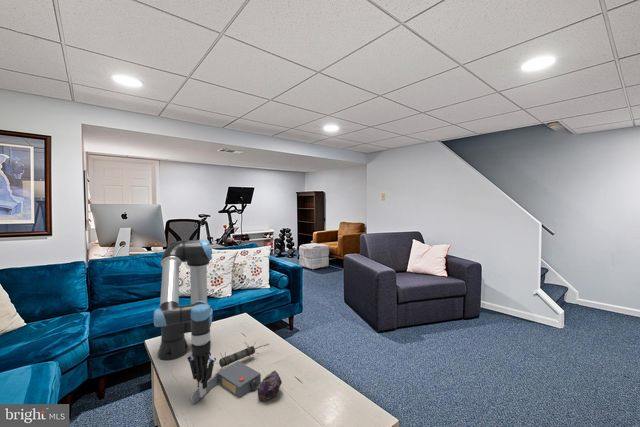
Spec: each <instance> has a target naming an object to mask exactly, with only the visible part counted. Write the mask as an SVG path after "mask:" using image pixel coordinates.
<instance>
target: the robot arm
mask: <svg viewBox="0 0 640 427" xmlns="http://www.w3.org/2000/svg"><path fill="white" fill-rule="evenodd" d="M211 260H213V255H212V248H211V244H210V240H208V239H194V240H193V239H192V240H191V239H190V240H178V241H175V242H173V243H171V244H170V245H169V246H168V247H167V248H166V249H165V250H164V251H163V253H162V255H161V259H160V265H161V267H162V272H161V288H160V298H159V300H160V301H159V302H160V303H159V308H157V309H154V310H153V325H154V327H156V328H160V330H161V331H160V332H161V336H160V341H161V342H160V345H159V349H158V351H157V356H158V357H159V358H160V359H159V358H158V359H159V360H162V361H172V360H176V359H178V358H181V357H183V356H185V354H187V353H188V351H189V345H188V341H187V340H186V337H185V334H188V333H191V335H190V336H191V337H190V338H191V339H190V340H191V353H192V354H190V355H189V356H188V357H187V361H188V363H189V366H190V371H191V375H192V379H193V380H196V382H197V388H198V389H199V397H202V398H203V397H204V396H205V395H206V394H207V393H206V387H207V381H208V380H209V379H211V378H212V377H213V370H214V364H215V362H216V360H217V358H216V357H213V356H212V354H211V348H212V345H211V344H212V342H211V326H212V323H213V308H212V307H211V306H210V304H208V279H207V276H208V275H207V274H208V271H207V270H208V269H207V266H208V265H209V264H210V261H211ZM182 263H186V265H187V266H188V267H189V270H190V271H189V276H190V278H189V279H190V280H189V281H190V304H185V305H179V300H180V299H179V298H180V296H179V295H180V294H179V293H180V291H179V290H180V266H181V265H182Z"/></svg>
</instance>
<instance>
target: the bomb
mask: <svg viewBox="0 0 640 427" xmlns="http://www.w3.org/2000/svg"><path fill="white" fill-rule="evenodd" d="M244 343H245V345H246V348H245V349H242V350H239V351H237V352H235V353H233V354H229V355H226V353H224V356H223V354H222V353H220V355H221V358H220V359H219V362H217V363H215V364H219V367H221V369H220V370H223V368H224V367H226V366H227V367H228V366H230V365H232V364H234V363H236V362H237V361H240V360H242V359H244V358H248V357H249V359H251V356H253V355H254V354H258V355H259V354H260V353H258V352H256V349H259V348H262V347H265V346H269V345H270V343H266V344H264V345H260V346H258V347H255V345H256V343H254V344H253V345H251V346H250V345H249V344H247V343H246V341H245V342H244ZM249 362H250V363H251V361H249Z"/></svg>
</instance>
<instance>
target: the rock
mask: <svg viewBox="0 0 640 427" xmlns="http://www.w3.org/2000/svg"><path fill="white" fill-rule="evenodd" d="M282 384H283V382H282V379H281V376H280V375H279V373H278V372H277V370H271V371H270V373H269V374H267V375H266V376H265V377H264V378H263V379H262V380H261V383H260V385H258V386H257V388H256V389H257V398H258V399H259V400H260V401H261V402H265V401H268V400H269V399H273V398H275V397H276V396H277V394H278V392H279V391H280V387H281V385H282Z"/></svg>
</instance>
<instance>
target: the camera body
mask: <svg viewBox="0 0 640 427" xmlns="http://www.w3.org/2000/svg"><path fill="white" fill-rule="evenodd" d="M216 373H217V376H218V384H217V385H220V386H221V387H223V388H224V389H226V391H229V392H230V393H231V394H233V395H234V396H236V397H237V398H238V399H240V398H242V397H244V396H246V395H247V394H248V393H249V392H250V391H252V390H255V389H257V388H258V386H259V385H260V383H261V382H262V376H261V372H259V371H257V370H255V369H253V368H252V367H250V366H249V365H246V364H244V363H243V362H241V361H240V360H238V361H235V362H233V363H231V364H229V366H228V365H227V367H226V366H225V368H222V369H220V370H219V371H217V372H216Z"/></svg>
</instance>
